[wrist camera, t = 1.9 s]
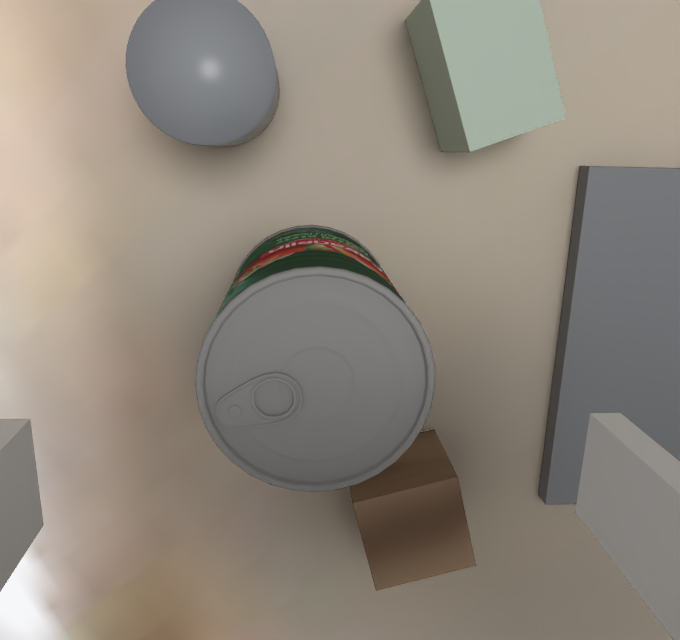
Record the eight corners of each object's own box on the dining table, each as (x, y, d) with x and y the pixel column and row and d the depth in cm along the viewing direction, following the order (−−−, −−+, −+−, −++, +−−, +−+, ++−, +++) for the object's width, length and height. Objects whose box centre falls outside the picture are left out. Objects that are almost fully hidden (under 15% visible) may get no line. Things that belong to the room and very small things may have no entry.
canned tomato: (362, 203, 29) (399, 233, 19) (407, 349, 31) (463, 451, 21) (206, 255, 29) (156, 314, 19) (262, 397, 32) (245, 521, 21)
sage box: (521, 123, 29) (565, 118, 24) (440, 151, 29) (470, 151, 24) (489, -10, 27) (530, -44, 22) (404, 20, 27) (427, -7, 23)
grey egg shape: (279, 147, 28) (274, 146, 22) (170, 144, 28) (130, 143, 21) (279, 30, 27) (274, -9, 20) (164, 25, 27) (120, -16, 20)
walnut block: (450, 506, 34) (475, 565, 30) (364, 528, 34) (376, 590, 30) (433, 428, 33) (457, 476, 28) (344, 451, 33) (352, 503, 28)
